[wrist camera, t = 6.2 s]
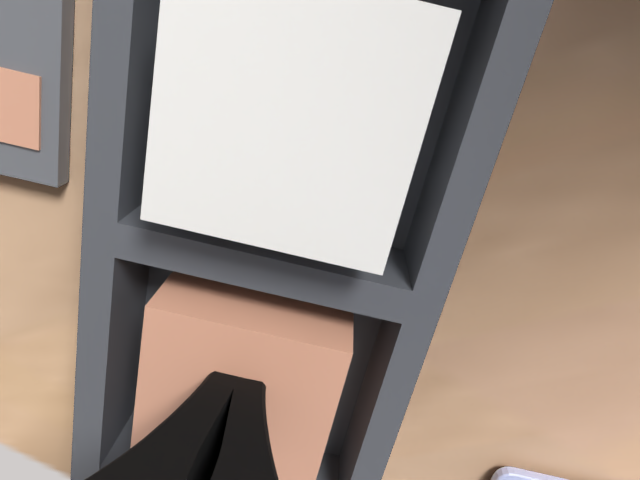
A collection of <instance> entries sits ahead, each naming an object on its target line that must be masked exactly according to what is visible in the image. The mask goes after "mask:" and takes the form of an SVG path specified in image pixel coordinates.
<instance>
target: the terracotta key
mask: <svg viewBox="0 0 640 480" xmlns="http://www.w3.org/2000/svg"><path fill="white" fill-rule="evenodd" d="M353 323H354V313H352V312H348V311H344V310H339V309H335V308H331V307H326V306H322V305H317V304H313V303H309V302H304V301H300V300H296V299H291V298H287V297H283V296H278V295H274V294H270V293H265V292H261V291H257V290H252V289H248V288H244V287H239V286H235V285H231V284H226V283H222V282H218V281H213V280H209V279H205V278H200V277H196V276H192V275H187V274H183V273H179V272H174V271H173V272H172V273H171V274H170V275H169V277H168V278H167V279H166V280H165V282H164V283H163V284H162V285H161V287H160V288H159V289H158V290H157V292H156V293H155V294H154V295H153V297H152V298H151V299H150V300H149V302H148V303H147V304H146V305H145V310H144V320H143V329H142V339H141V349H140V359H139V368H138V378H137V388H136V397H135V407H134V417H133V426H132V436H131V446H130V448H132V447H133V446H134V445H136V444H137V443H138V442H139V441H141V440H142V439H143V438H144V437H146V436H147V435H148V434H149V433H150V432H152V431H153V430H154V429H155V428H156V427H157V426H158V425H160V424H161V423H162V422H163V421H164V420H165V419H167V418H168V417H169V416H170V415H171V414H172V413H173V412H174V411H175V410H176V409H177V408H178V407H179V406H180V405H181V404H182V403H183V402H184V401H185V400H186V399H187V398H188V397H189V396H190V395H191V394H192V393H193V392H194V391H195V390H196V389H197V388H198V387H199V386H200V384H201V383H202V382H203V381H204V380H205V379H206V377H207V376H208V375H209V374H210V373H212V372H214V371H217V372H221V373H225V374H229V375H234V376H238V377H243V378H247V379H252V380H256V381H261V382H263V383H264V384H265V386H266V416H267V425H268V432H269V438H270V444H271V449H272V454H273V459H274V463H275V468H276V471H277V475H278V479H279V480H316V478H317V475H318V471H319V468H320V464H321V461H322V458H323V454H324V451H325V447H326V444H327V441H328V437H329V434H330V430H331V427H332V424H333V420H334V417H335V414H336V410H337V407H338V403H339V400H340V397H341V393H342V390H343V386H344V383H345V380H346V376H347V373H348V369H349V366H350V363H351V359H352V356H353Z"/></svg>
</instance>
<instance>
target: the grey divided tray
mask: <svg viewBox="0 0 640 480" xmlns="http://www.w3.org/2000/svg"><path fill="white" fill-rule="evenodd" d="M419 1H423V2H428V3H432V4H436V5H440V6H444V7H448V8H452V9H456V10H461V11H462V12H461V15H460V18H459V22H458V25H457V29H456V32H455V35H454V39H453V42H452V45H451V49H450V52H449V55H448V59H447V62H446V65H445V69H444V72H443V75H442V79H441V82H440V85H439V89H438V92H437V95H436V99H435V102H434V105H433V109H432V112H431V115H430V119H429V122H428V125H427V129H426V132H425V135H424V139H423V142H422V145H421V149H420V152H419V155H418V159H417V162H416V165H415V169H414V172H413V175H412V179H411V182H410V185H409V189H408V192H407V195H406V199H405V202H404V205H403V209H402V212H401V215H400V219H399V222H398V225H397V229H396V232H395V236H394V239H393V242H392V246H391V249H390V252H389V256H388V259H387V262H386V266H385V269H384V272H383V276H382V275H378V274H373V273H369V272H365V271H360V270H356V269H352V268H347V267H343V266H339V265H335V264H330V263H326V262H322V261H317V260H313V259H309V258H304V257H300V256H296V255H291V254H287V253H283V252H279V251H274V250H270V249H266V248H261V247H257V246H253V245H248V244H244V243H240V242H235V241H231V240H227V239H223V238H218V237H214V236H210V235H205V234H201V233H197V232H192V231H188V230H184V229H179V228H175V227H171V226H166V225H162V224H158V223H154V222H149V221H145V220H141V219H140V216H141V205H142V194H143V183H144V172H145V161H146V150H147V140H148V129H149V118H150V107H151V96H152V85H153V75H154V64H155V53H156V42H157V31H158V20H159V9H160V0H93V8H92V30H91V51H90V73H89V94H88V116H87V138H86V159H85V181H84V203H83V224H82V246H81V268H80V289H79V311H78V332H77V354H76V376H75V397H74V419H73V441H72V462H71V480H85V479H86V478H88V477H89V476H91V475H93V474H94V473H96V472H97V471H99V470H100V469H102V468H103V467H105V466H106V465H108V464H109V463H111V462H112V461H114V460H115V459H117V458H118V457H119V456H121V455H122V454H124V453H125V452H126V451H128V450H129V449H130V446H131V436H132V426H133V417H134V407H135V397H136V388H137V378H138V368H139V359H140V349H141V339H142V329H143V320H144V310H145V305H146V304H147V303H148V302H149V300H150V299H151V298H152V297H153V295H154V294H155V293H156V292H157V290H158V289H159V288H160V287H161V285H162V284H163V283H164V282H165V280H166V279H167V278H168V277H169V275H170V274H171V273H172V272H173V271H174V272H179V273H183V274H187V275H192V276H196V277H200V278H205V279H209V280H213V281H218V282H222V283H226V284H231V285H235V286H239V287H244V288H248V289H252V290H257V291H261V292H265V293H270V294H274V295H278V296H283V297H287V298H291V299H296V300H300V301H304V302H309V303H313V304H317V305H322V306H326V307H331V308H335V309H339V310H344V311H348V312H352V313H354V323H353V356H352V359H351V363H350V366H349V369H348V373H347V376H346V380H345V383H344V386H343V390H342V393H341V397H340V400H339V403H338V407H337V410H336V414H335V417H334V420H333V424H332V427H331V430H330V434H329V437H328V441H327V444H326V447H325V451H324V454H323V458H322V461H321V464H320V468H319V471H318V475H317V478H316V480H381V479H382V476H383V473H384V470H385V468H386V465H387V462H388V459H389V457H390V454H391V451H392V448H393V445H394V443H395V440H396V437H397V434H398V432H399V429H400V426H401V423H402V420H403V418H404V415H405V412H406V409H407V407H408V404H409V401H410V398H411V395H412V393H413V390H414V387H415V384H416V382H417V379H418V376H419V373H420V370H421V368H422V365H423V362H424V359H425V357H426V354H427V351H428V348H429V345H430V343H431V340H432V337H433V334H434V332H435V329H436V326H437V323H438V320H439V318H440V315H441V312H442V309H443V307H444V304H445V301H446V298H447V295H448V293H449V290H450V287H451V284H452V282H453V279H454V276H455V273H456V270H457V268H458V265H459V262H460V259H461V257H462V254H463V251H464V248H465V245H466V243H467V240H468V237H469V234H470V232H471V229H472V226H473V223H474V220H475V218H476V215H477V212H478V209H479V207H480V204H481V201H482V198H483V195H484V193H485V190H486V187H487V184H488V182H489V179H490V176H491V173H492V170H493V168H494V165H495V162H496V159H497V157H498V154H499V151H500V148H501V145H502V143H503V140H504V137H505V134H506V132H507V129H508V126H509V123H510V120H511V118H512V115H513V112H514V109H515V107H516V104H517V101H518V98H519V95H520V93H521V90H522V87H523V84H524V82H525V79H526V76H527V73H528V70H529V68H530V65H531V62H532V59H533V57H534V54H535V51H536V48H537V45H538V43H539V40H540V37H541V34H542V32H543V29H544V26H545V23H546V20H547V18H548V15H549V12H550V9H551V7H552V4H553V1H554V0H419Z"/></svg>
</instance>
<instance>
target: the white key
mask: <svg viewBox="0 0 640 480" xmlns="http://www.w3.org/2000/svg"><path fill="white" fill-rule="evenodd" d="M461 12H462V11H461V10H456V9H452V8H448V7H444V6H440V5H436V4H432V3H428V2H423V1H419V0H160V9H159V20H158V31H157V42H156V53H155V64H154V75H153V85H152V96H151V107H150V118H149V129H148V140H147V150H146V161H145V172H144V183H143V194H142V205H141V216H140V219H141V220H145V221H149V222H154V223H158V224H162V225H166V226H171V227H175V228H179V229H184V230H188V231H192V232H197V233H201V234H205V235H210V236H214V237H218V238H223V239H227V240H231V241H235V242H240V243H244V244H248V245H253V246H257V247H261V248H266V249H270V250H274V251H279V252H283V253H287V254H291V255H296V256H300V257H304V258H309V259H313V260H317V261H322V262H326V263H330V264H335V265H339V266H343V267H347V268H352V269H356V270H360V271H365V272H369V273H373V274H378V275H382V276H383V272H384V269H385V266H386V262H387V259H388V256H389V252H390V249H391V246H392V242H393V239H394V236H395V232H396V229H397V225H398V222H399V219H400V215H401V212H402V209H403V205H404V202H405V199H406V195H407V192H408V189H409V185H410V182H411V179H412V175H413V172H414V169H415V165H416V162H417V159H418V155H419V152H420V149H421V145H422V142H423V139H424V135H425V132H426V129H427V125H428V122H429V119H430V115H431V112H432V109H433V105H434V102H435V99H436V95H437V92H438V89H439V85H440V82H441V79H442V75H443V72H444V69H445V65H446V62H447V59H448V55H449V52H450V49H451V45H452V42H453V39H454V35H455V32H456V29H457V25H458V22H459V18H460V15H461Z"/></svg>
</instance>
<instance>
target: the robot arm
mask: <svg viewBox="0 0 640 480" xmlns="http://www.w3.org/2000/svg"><path fill="white" fill-rule="evenodd" d="M85 480H279V479H278V475H277V471H276V468H275V463H274V459H273V454H272V449H271V444H270V438H269V432H268V425H267V416H266V386H265V384H264V383H263V382H261V381H256V380H252V379H247V378H243V377H238V376H234V375H229V374H225V373H221V372H217V371H214V372H212V373H210V374H209V375H208V376H207V377H206V379H205V380H204V381H203V382H202V383H201V384H200V386H199V387H198V388H197V389H196V390H195V391H194V392H193V393H192V394H191V395H190V396H189V397H188V398H187V399H186V400H185V401H184V402H183V403H182V404H181V405H180V406H179V407H178V408H177V409H176V410H175V411H174V412H173V413H172V414H171V415H170V416H169V417H168V418H167V419H165V420H164V421H163V422H162V423H161V424H160V425H158V426H157V427H156V428H155V429H154V430H153V431H152V432H150V433H149V434H148V435H147V436H146V437H144V438H143V439H142V440H141V441H139V442H138V443H137V444H136V445H134V446H133V447H132V448H130V449H129V450H128V451H126V452H125V453H124V454H122V455H121V456H119V457H118V458H117V459H115V460H114V461H112V462H111V463H109V464H108V465H106V466H105V467H103V468H102V469H100V470H99V471H97V472H96V473H94V474H93V475H91V476H89V477H88V478H86V479H85ZM491 480H568V479H564V478H559V477H555V476H550V475H546V474H541V473H537V472H533V471H528V470H524V469H519V468H515V467H507V466H506V467H502V468H500V469H498V470H496V471H495V473H494V474H493V476H492V478H491Z"/></svg>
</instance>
